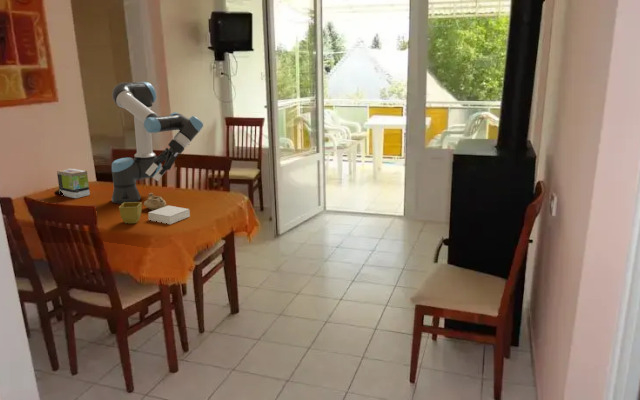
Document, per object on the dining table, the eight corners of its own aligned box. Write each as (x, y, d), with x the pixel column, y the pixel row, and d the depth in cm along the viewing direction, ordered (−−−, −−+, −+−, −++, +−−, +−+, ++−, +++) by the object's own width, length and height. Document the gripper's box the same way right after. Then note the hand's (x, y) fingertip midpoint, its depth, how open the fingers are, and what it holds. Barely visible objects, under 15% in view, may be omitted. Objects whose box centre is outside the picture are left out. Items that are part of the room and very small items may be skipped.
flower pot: (125, 219, 251) (123, 202, 248) (143, 219, 252) (141, 201, 249) (120, 225, 242) (118, 207, 240) (138, 224, 243) (137, 206, 241)
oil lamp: (158, 214, 260) (157, 199, 258) (139, 209, 268) (138, 195, 265) (174, 209, 269) (173, 194, 266) (156, 204, 276) (155, 190, 274)
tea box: (90, 195, 295) (87, 170, 291) (74, 199, 287) (71, 173, 283) (75, 191, 303) (72, 167, 299) (59, 195, 294) (55, 170, 290)
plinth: (148, 220, 250) (148, 212, 249) (168, 212, 262) (168, 205, 261) (170, 224, 244) (169, 216, 243) (189, 216, 256) (189, 209, 255)
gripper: (193, 151, 242) (164, 186, 238) (176, 145, 263) (150, 176, 259) (181, 141, 238) (152, 176, 234) (165, 135, 258) (138, 168, 254)
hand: (151, 176), depth 246 cm, fingers open, 13 cm apart
